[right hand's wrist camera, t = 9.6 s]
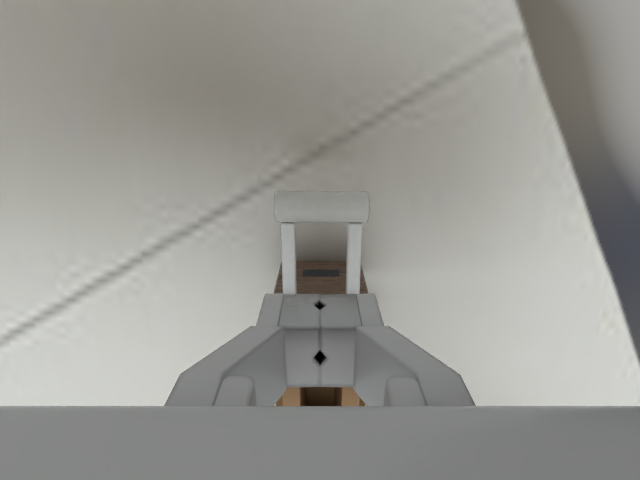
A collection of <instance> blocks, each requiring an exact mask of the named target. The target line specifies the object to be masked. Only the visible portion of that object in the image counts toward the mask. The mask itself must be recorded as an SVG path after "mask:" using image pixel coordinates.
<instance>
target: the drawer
mask: <svg viewBox="0 0 640 480" xmlns="http://www.w3.org/2000/svg"><path fill="white" fill-rule="evenodd" d="M274 216H275V221H276V222H281V225H280V226H281V253H282V262H281V266H280V270H279V274H278V278H277V282H276V286H275V290H274V293H283V294H320V295H323V294H367V293H368V290H367V286H366V282H365V278H364V274H363V270H362V266H361V249H362V227H363V225H362V222H367V221H368V218H369V195H368V192H275V196H274ZM295 222H348V230H347V262H296V235H295ZM282 396H283V406H359V396H358V394H357V393H356V392H355V391H354V389H353V388H346V387H294V388H287V390H286V391H285V392H284V394H283V395H282Z"/></svg>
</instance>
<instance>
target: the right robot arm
mask: <svg viewBox="0 0 640 480" xmlns="http://www.w3.org/2000/svg"><path fill="white" fill-rule="evenodd" d="M294 387H346V388H353V389H354V391H355V392H356V393H357V394H358V396H359V397H360V398H361V399H362V401H363V402H364V403H365V404H366V406H274V405H275V403H276V402H277V401H278V400H279V398H280V397H281V396H282V395H283V394H284V392H285V391H286V390H287V388H294ZM0 480H640V406H476V405H475V403H474V401H473V399H472V397H471V395H470V393H469V391H468V389H467V387H466V385H465V383H464V381H463V379H462V377H461V375H460V374H458V373H457V372H455V371H454V370H453V369H451V368H450V367H448V366H447V365H445V364H444V363H442V362H441V361H439V360H438V359H436V358H435V357H433V356H432V355H431V354H429V353H428V352H426V351H425V350H423V349H422V348H420V347H419V346H417V345H416V344H414V343H413V342H411V341H410V340H408V339H407V338H406V337H404V336H403V335H401V334H400V333H398V332H397V331H395V330H394V329H392V328H391V327H389V326H384V324H383V321H382V317H381V314H380V310H379V307H378V303H377V299H376V296H375V294H374V293H367V294H323V295H320V294H283V293H274V294H265V296H264V299H263V303H262V306H261V310H260V313H259V317H258V321H257V324H256V326H251V327H249V328H248V329H246V330H245V331H243V332H242V333H240V334H239V335H237V336H236V337H234V338H233V339H231V340H230V341H228V342H227V343H226V344H224V345H223V346H221V347H220V348H218V349H217V350H215V351H214V352H212V353H211V354H209V355H208V356H206V357H205V358H203V359H202V360H200V361H199V362H198V363H196V364H195V365H193V366H192V367H190V368H189V369H187V370H186V371H184V372H183V373H181V374H180V376H179V378H178V380H177V382H176V384H175V386H174V388H173V390H172V392H171V394H170V396H169V398H168V400H167V402H166V403H165V405H164V406H0Z"/></svg>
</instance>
